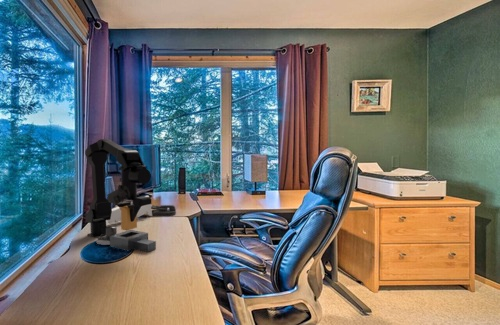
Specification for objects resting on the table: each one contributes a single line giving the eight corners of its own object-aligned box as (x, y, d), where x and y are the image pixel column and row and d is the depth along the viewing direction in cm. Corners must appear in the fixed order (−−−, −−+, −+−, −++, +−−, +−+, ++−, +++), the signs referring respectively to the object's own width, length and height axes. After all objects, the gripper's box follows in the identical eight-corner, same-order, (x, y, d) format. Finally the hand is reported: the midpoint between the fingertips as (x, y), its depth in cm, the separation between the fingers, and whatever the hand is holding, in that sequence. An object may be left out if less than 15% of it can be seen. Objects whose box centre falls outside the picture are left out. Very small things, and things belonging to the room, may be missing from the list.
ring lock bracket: (90, 243, 115) (90, 228, 115) (113, 236, 125) (113, 222, 125) (140, 255, 103) (140, 239, 103) (162, 246, 113) (162, 231, 113)
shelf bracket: (154, 216, 163) (151, 196, 160) (115, 236, 142) (110, 212, 140) (148, 215, 166) (144, 195, 163) (109, 234, 145) (104, 211, 142)
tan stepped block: (120, 229, 111) (120, 207, 110) (132, 226, 116) (132, 204, 116) (125, 230, 109) (125, 207, 109) (137, 227, 115) (137, 205, 115)
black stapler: (133, 202, 170) (176, 201, 174) (134, 213, 171) (176, 212, 174) (129, 205, 162) (174, 204, 165) (129, 216, 162) (174, 215, 165)
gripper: (94, 182, 109) (94, 222, 110) (129, 185, 101) (129, 229, 101) (119, 179, 119) (119, 216, 120) (152, 182, 111) (152, 222, 111)
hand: (129, 220), depth 113 cm, fingers closed on tan stepped block, 3 cm apart
